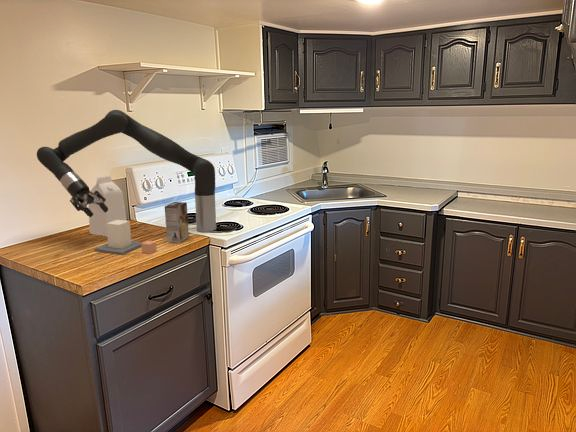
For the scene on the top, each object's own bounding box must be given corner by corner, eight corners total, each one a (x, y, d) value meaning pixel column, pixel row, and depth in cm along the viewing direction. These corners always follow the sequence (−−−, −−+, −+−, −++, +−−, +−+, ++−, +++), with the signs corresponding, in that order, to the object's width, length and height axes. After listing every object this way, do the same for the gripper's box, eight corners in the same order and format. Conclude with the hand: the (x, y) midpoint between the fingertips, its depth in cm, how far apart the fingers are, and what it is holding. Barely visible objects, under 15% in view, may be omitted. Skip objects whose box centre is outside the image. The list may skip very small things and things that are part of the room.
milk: (110, 227, 214) (104, 174, 207) (128, 230, 209) (123, 175, 203) (89, 233, 203) (83, 177, 197) (108, 236, 199) (102, 179, 192)
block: (142, 252, 177) (141, 243, 176) (148, 250, 181) (147, 240, 180) (150, 254, 176) (149, 244, 175) (156, 251, 180) (155, 241, 179)
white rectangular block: (108, 246, 181) (106, 223, 179) (119, 242, 187) (117, 219, 184) (121, 248, 179) (119, 224, 176) (131, 244, 185) (129, 221, 182)
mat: (94, 251, 179) (94, 248, 179) (118, 241, 192) (118, 239, 192) (122, 255, 174) (122, 252, 174) (145, 244, 187) (145, 242, 187)
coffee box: (175, 236, 200) (173, 201, 196) (189, 237, 198) (187, 202, 194) (166, 242, 191) (164, 206, 187) (180, 243, 190) (178, 206, 186)
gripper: (64, 181, 177) (90, 211, 176) (91, 176, 190) (115, 203, 189) (56, 194, 180) (82, 223, 179) (83, 187, 193) (107, 215, 192)
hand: (99, 213), depth 184 cm, fingers open, 8 cm apart
